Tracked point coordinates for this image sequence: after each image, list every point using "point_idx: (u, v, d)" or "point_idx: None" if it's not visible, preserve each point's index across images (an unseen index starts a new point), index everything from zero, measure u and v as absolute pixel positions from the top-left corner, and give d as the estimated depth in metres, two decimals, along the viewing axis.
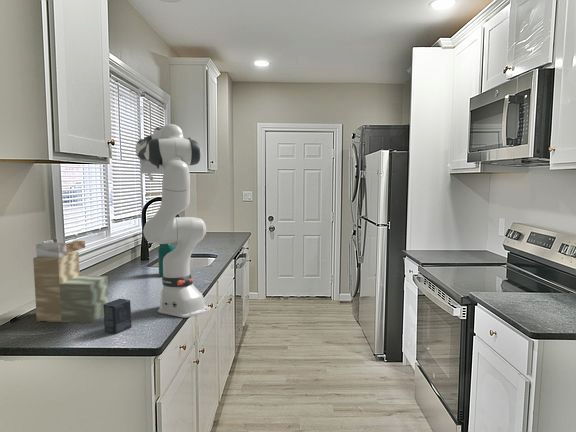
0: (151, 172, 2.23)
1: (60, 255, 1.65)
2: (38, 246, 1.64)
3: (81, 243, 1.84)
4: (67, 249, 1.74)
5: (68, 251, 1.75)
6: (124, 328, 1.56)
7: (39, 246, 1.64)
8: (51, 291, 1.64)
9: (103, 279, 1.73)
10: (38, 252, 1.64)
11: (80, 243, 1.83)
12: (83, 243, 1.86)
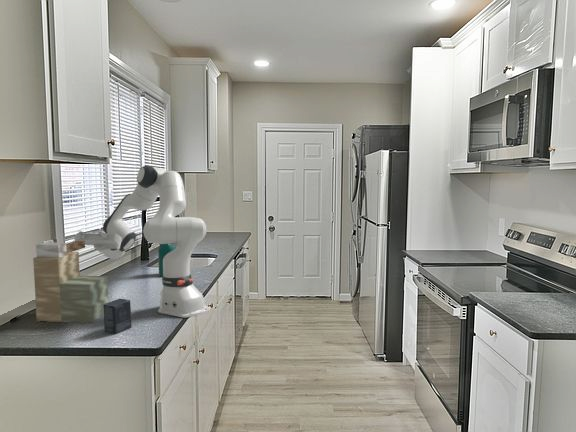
0: None
1: (60, 255, 1.65)
2: (38, 246, 1.64)
3: (81, 243, 1.84)
4: (67, 249, 1.74)
5: (68, 251, 1.75)
6: (124, 328, 1.56)
7: (39, 246, 1.64)
8: (51, 291, 1.64)
9: (103, 279, 1.73)
10: (38, 252, 1.64)
11: (80, 243, 1.83)
12: (83, 243, 1.86)
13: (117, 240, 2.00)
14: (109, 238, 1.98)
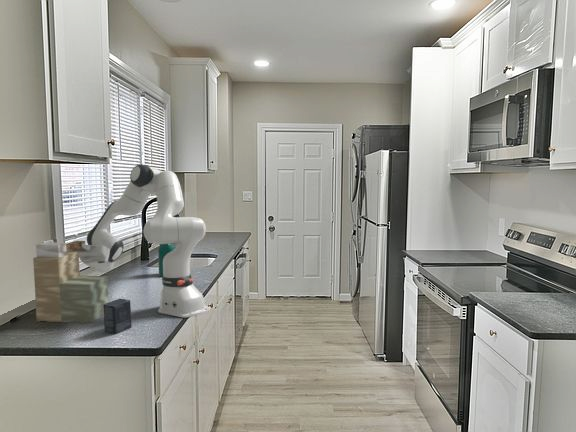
0: None
1: (60, 255, 1.65)
2: (38, 246, 1.64)
3: None
4: (67, 249, 1.74)
5: (68, 251, 1.75)
6: (124, 328, 1.56)
7: (39, 246, 1.64)
8: (51, 291, 1.64)
9: (103, 279, 1.73)
10: (38, 252, 1.65)
11: None
12: None
13: (105, 252, 1.88)
14: (96, 250, 1.86)
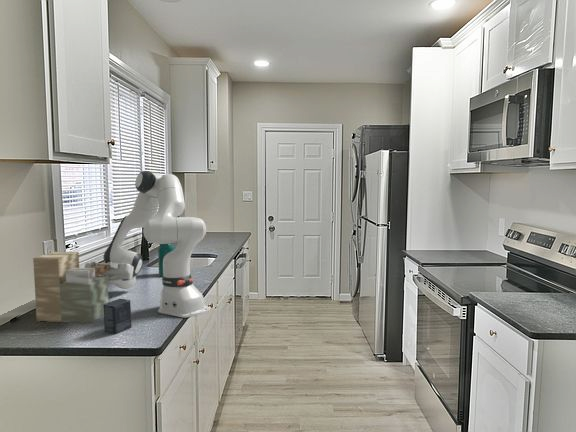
0: None
1: (90, 281, 1.65)
2: (67, 272, 1.64)
3: (107, 266, 1.84)
4: (95, 274, 1.74)
5: (95, 275, 1.75)
6: (124, 328, 1.56)
7: (68, 272, 1.64)
8: (51, 291, 1.64)
9: (103, 279, 1.73)
10: (67, 278, 1.64)
11: (106, 266, 1.83)
12: None
13: (129, 270, 1.88)
14: (121, 268, 1.86)
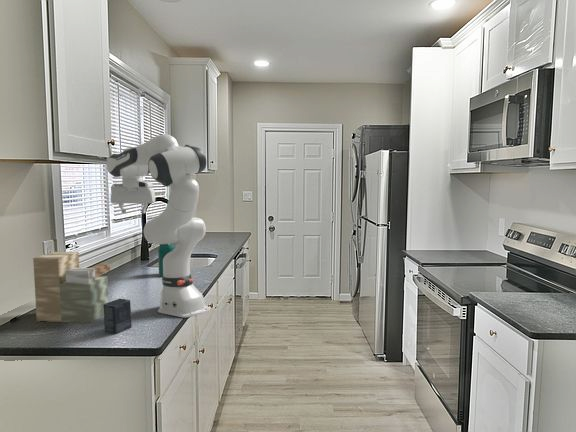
0: (121, 201, 1.97)
1: (90, 281, 1.65)
2: (67, 272, 1.64)
3: (107, 266, 1.84)
4: (95, 274, 1.74)
5: (95, 275, 1.75)
6: (124, 328, 1.56)
7: (68, 272, 1.64)
8: (51, 291, 1.64)
9: (103, 279, 1.73)
10: (67, 278, 1.64)
11: (106, 266, 1.83)
12: (108, 266, 1.86)
13: (154, 197, 1.99)
14: None
